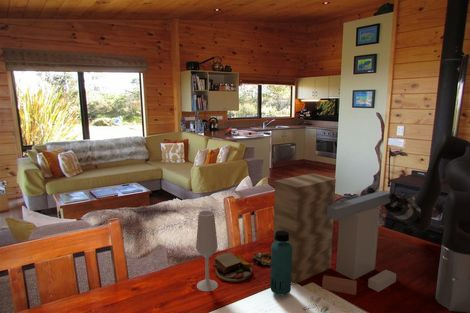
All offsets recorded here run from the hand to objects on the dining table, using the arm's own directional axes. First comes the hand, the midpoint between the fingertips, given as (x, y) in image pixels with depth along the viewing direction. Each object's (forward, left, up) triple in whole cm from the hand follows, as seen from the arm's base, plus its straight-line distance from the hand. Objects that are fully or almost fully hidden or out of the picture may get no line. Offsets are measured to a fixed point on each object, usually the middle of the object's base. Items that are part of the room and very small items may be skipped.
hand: (379, 192), depth 118 cm
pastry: (-7, +38, -27) cm, 47 cm away
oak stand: (-10, +26, -26) cm, 38 cm away
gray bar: (-7, +7, -4) cm, 11 cm away
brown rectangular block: (-20, +15, -26) cm, 36 cm away
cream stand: (-8, +8, -26) cm, 28 cm away
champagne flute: (-25, +56, -26) cm, 67 cm away
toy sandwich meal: (-16, +49, -26) cm, 58 cm away
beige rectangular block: (-15, +1, -26) cm, 31 cm away
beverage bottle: (-26, +33, -26) cm, 50 cm away
